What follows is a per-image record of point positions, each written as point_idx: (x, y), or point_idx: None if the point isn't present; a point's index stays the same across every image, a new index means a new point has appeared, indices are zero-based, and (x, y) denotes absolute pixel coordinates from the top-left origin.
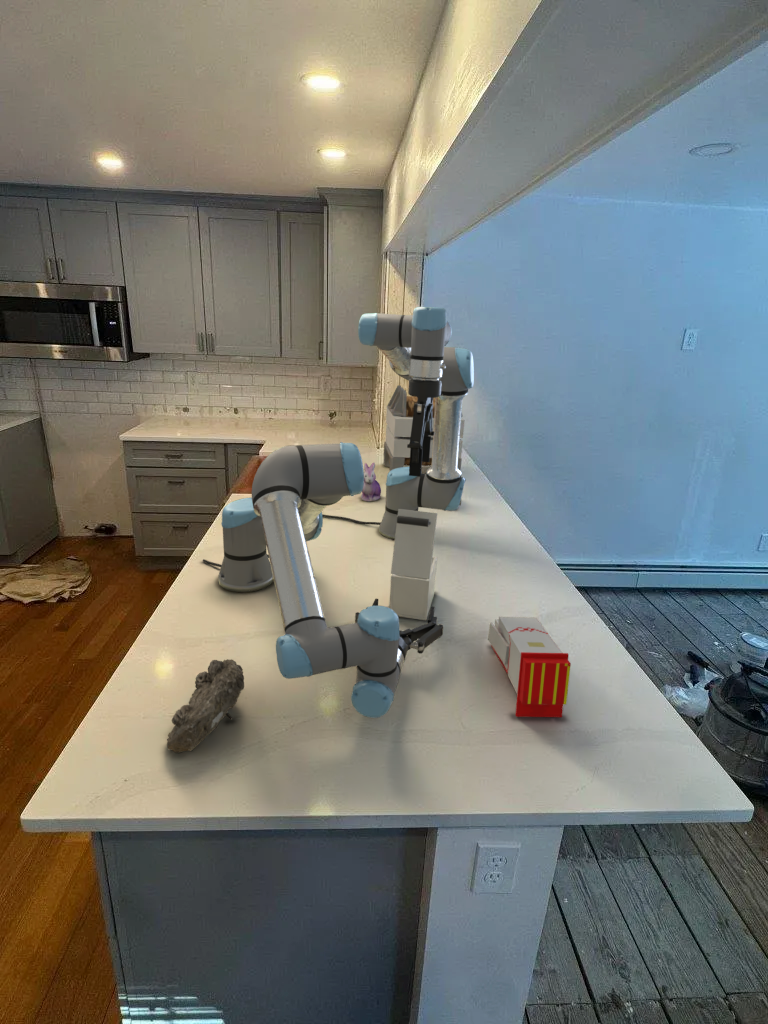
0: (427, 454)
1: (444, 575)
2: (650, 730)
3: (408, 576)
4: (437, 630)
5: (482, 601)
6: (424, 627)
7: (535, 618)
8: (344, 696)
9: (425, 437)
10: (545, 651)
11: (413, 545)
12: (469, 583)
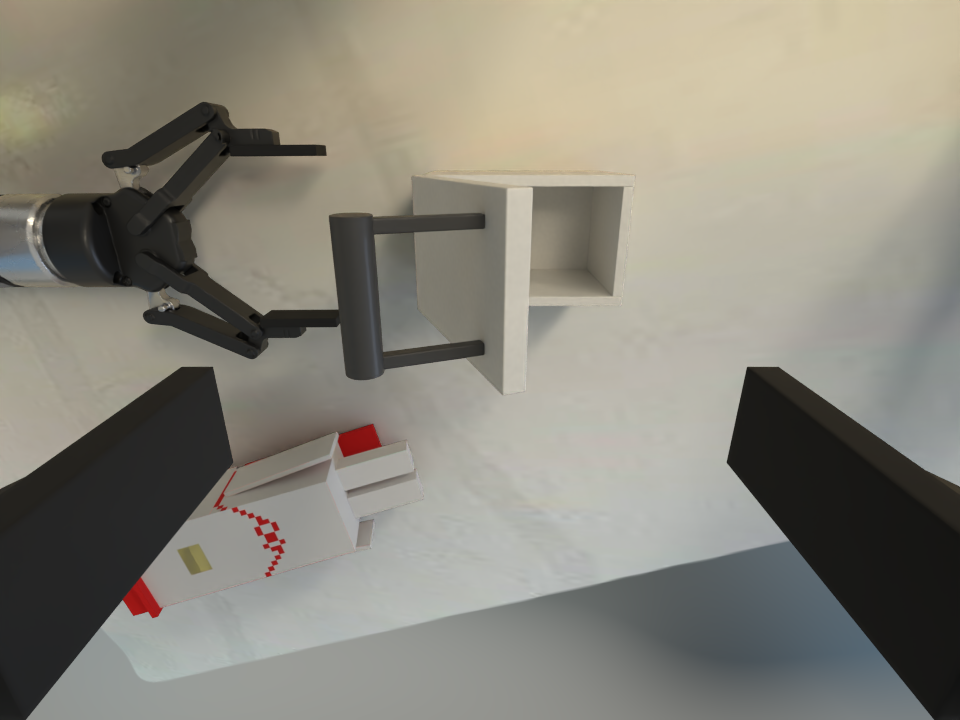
0: (769, 495)
1: (712, 290)
2: (238, 627)
3: (601, 200)
4: (225, 347)
5: (574, 397)
6: (222, 315)
7: (347, 550)
8: (56, 146)
9: (952, 638)
10: (168, 576)
11: (447, 264)
12: (670, 360)
